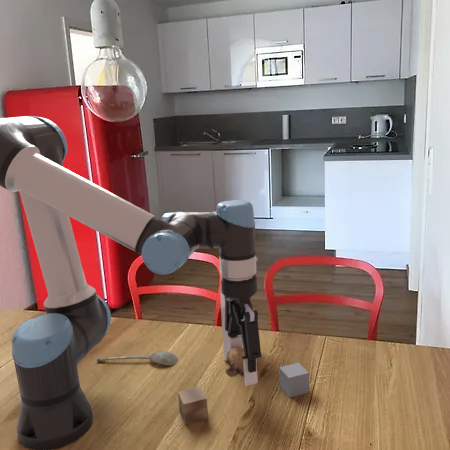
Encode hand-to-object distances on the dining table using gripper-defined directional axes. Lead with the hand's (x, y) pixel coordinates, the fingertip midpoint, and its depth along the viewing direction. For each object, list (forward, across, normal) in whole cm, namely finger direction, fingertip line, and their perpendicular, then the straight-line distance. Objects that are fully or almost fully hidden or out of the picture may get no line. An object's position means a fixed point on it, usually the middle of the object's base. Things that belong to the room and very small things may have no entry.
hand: (243, 373), depth 107 cm
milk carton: (+7, +21, -6) cm, 23 cm away
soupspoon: (+8, +29, +19) cm, 35 cm away
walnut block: (+7, 0, +12) cm, 14 cm away
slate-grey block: (+7, 0, -12) cm, 14 cm away
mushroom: (+1, 0, 0) cm, 1 cm away
